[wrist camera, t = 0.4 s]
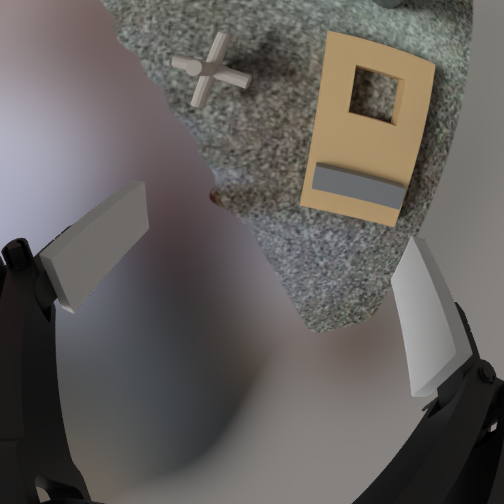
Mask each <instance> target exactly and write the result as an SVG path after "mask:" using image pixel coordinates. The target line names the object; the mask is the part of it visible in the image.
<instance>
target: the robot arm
mask: <svg viewBox="0 0 504 504" xmlns="http://www.w3.org/2000/svg"><path fill="white" fill-rule="evenodd" d="M148 229H149V225H148V215H147V205H146V194H145V182H141V181H131V182H130V183H128V184H127V185H125V186H124V187H122V188H121V189H120V190H118V191H117V192H115V193H114V194H113V195H111V196H110V197H108V198H107V199H106V200H104V201H103V202H101V203H100V204H99V205H98V206H96V207H95V208H94V209H92V210H91V211H90V212H88V213H87V214H86V215H85V216H83V217H82V218H81V219H80V220H79V221H77V222H76V223H74V224H73V225H71V226H69V227H67V228H66V229H65V230H64V231H63V232H61V234H60V235H58V236H57V237H56V238H55V240H52V241H51V242H50V243H49V244H48V245H46V246H45V247H44V248H43V249H42V250H41V251H40V252H39V253H38V254H37V255H36V256H34V257H33V255H32V252H31V250H30V247H29V244H28V241H27V240H26V239H25V238H17V239H15V240H12V241H11V242H9V243H8V244H7V245H6V246H5V247H4V248H3V249H2V251H1V252H2V255H3V257H4V260H5V262H6V264H7V265H4V262H3V260H2V258H1V256H0V504H104V503H99V502H94V501H91V498H90V495H89V493H88V490H87V487H86V484H85V481H84V479H83V476H82V475H81V473H80V471H79V470H78V469H77V467H76V466H75V465H74V463H73V461H72V458H71V455H70V451H69V447H68V443H67V438H66V433H65V428H64V423H63V418H62V411H61V404H60V398H59V388H58V380H57V379H58V378H57V365H56V344H55V317H56V316H55V314H56V309H55V305H54V303H53V302H54V301H55V300H56V299H57V298H58V300H59V302H60V304H61V306H62V308H64V309H66V310H68V311H70V312H72V313H75V312H76V311H77V310H78V309H79V307H80V306H81V305H82V303H83V302H84V301H85V300H86V299H87V297H88V296H89V295H90V294H91V293H92V291H93V290H94V289H95V288H96V287H97V285H98V284H99V283H100V282H101V281H102V279H103V278H104V277H105V276H106V275H107V274H108V273H109V271H110V270H111V269H112V268H113V267H114V265H115V264H116V263H117V262H118V261H119V260H120V259H121V258H122V257H123V256H124V255H125V253H126V252H127V251H128V250H129V249H130V248H131V247H132V246H133V245H134V244H135V243H136V242H137V240H139V238H140V237H141V236H142V235H143V234H144V233H145V232H146V231H147V230H148ZM391 283H392V287H393V291H394V295H395V300H396V304H397V308H398V313H399V317H400V322H401V327H402V332H403V337H404V343H405V349H406V355H407V362H408V369H409V376H410V384H411V392H412V397H428V396H429V395H430V394H431V393H432V392H434V391H435V390H436V389H437V391H438V397H436V398H435V399H434V400H433V401H431V402H430V403H429V404H428V405H426V406H425V407H424V408H423V409H422V411H425V410H426V409H427V408H428V410H427V411H426V413H425V415H424V416H423V418H422V419H421V421H420V422H419V424H418V425H417V427H416V429H415V430H414V431H413V433H412V434H411V436H410V437H409V438H408V440H407V441H406V443H405V444H404V445H403V446H402V448H401V449H400V450H399V452H398V453H397V454H396V456H395V457H394V458H393V459H392V461H391V462H390V463H389V464H388V465H387V467H386V468H385V469H384V470H383V471H382V472H381V474H380V475H379V476H378V477H377V478H376V479H375V481H373V483H372V484H371V485H370V486H369V487H368V488H367V489H366V490H365V491H364V492H363V493H362V494H361V495H360V496H359V497H358V498H357V499H356V500H355V501H354V502H353V503H352V504H504V381H503V380H501V379H499V378H497V377H496V373H495V371H494V368H493V367H492V366H491V365H490V363H489V362H487V361H485V360H482V359H480V356H479V353H478V350H477V346H476V343H475V341H474V338H473V335H472V332H470V330H471V329H470V326H469V324H467V322H468V321H467V319H466V316H465V313H464V312H463V310H462V309H461V307H460V306H459V304H458V303H457V302H454V300H453V298H452V295H451V293H450V291H449V288H448V286H447V284H446V282H445V279H444V277H443V275H442V273H441V271H440V269H439V267H438V265H437V263H436V261H435V258H434V257H433V254H432V252H431V251H430V249H429V247H428V245H427V243H426V241H425V239H422V238H419V237H415V236H411V238H410V240H409V243H408V245H407V247H406V249H405V251H404V254H403V256H402V258H401V260H400V262H399V264H398V266H397V268H396V270H395V272H394V274H393V276H392V278H391ZM495 423H497V427H496V429H495V430H494V431H492V432H491V426H492V425H494V424H495ZM36 486H37V487H40V488H43V489H44V490H45V491H46V492H47V493H48V495H49V497H50V500H49V501H45V502H41V503H40V500H39V497H38V494H37V490H36Z"/></svg>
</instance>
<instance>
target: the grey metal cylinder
mask: <svg viewBox="0 0 504 504" xmlns="http://www.w3.org/2000/svg"><path fill="white" fill-rule="evenodd" d="M372 1H373V2H374V3H376V4H377V5H379V6H381V7H383V8H395V7H396V6H398V5H399V4H400V3H401V2H402V1H403V0H372Z"/></svg>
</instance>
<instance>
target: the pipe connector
mask: <svg viewBox="0 0 504 504" xmlns="http://www.w3.org/2000/svg"><path fill="white" fill-rule="evenodd" d="M232 37H233V36H231V35H228V34H225V33H221V32H218V34H217V36H216V38H215V41H214V43H213V45H212V48H211V50H210V53H209V55H208V58H207V60H206V61H204V60H200V59H196V58H192V57H188V56H184V55H179V54H177V55H175V56H174V58H173V60H172V66H173V67H176V68H180V69H184V70H186V72H187V74H189V75H191V76H200V79H199V81H198V84H197V87H196V90H195V93H194V96H193V99H192V101H191V105H192V106H194V107H198V108H204V107H205V105H206V102H207V99H208V96H209V93H210V91H211V88H212V85H213V83H214V80H215V79H218V80H222V81H225V82H228V83H231V84H234V85H236V86H239V87H242V88H245V89H247V88H248V86H249V85H250V83H251V80H252V75H249V74H246V73H243V72H240V71H237V70H234V69H231V68H229V67H228V66H225V65H221V63H222V60H223V58H224V55H225V53H226V50H227V48H228V46H229V43H230V41H231V39H232Z"/></svg>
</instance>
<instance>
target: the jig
mask: <svg viewBox="0 0 504 504" xmlns="http://www.w3.org/2000/svg"><path fill="white" fill-rule="evenodd" d="M355 68H360V69H363V70H367V71H371V72H374V73H377V74H381V75H384V76H387V77H390V78H393V79H396V80H399V81H398V87H397V93H396V98H395V104H394V109H393V114H392V119H391V123H388V122H385V121H382V120H378V119H375V118H372V117H368V116H364V115H361V114H357V113H353V112H349V106H350V100H351V94H352V88H353V81H354V75H355ZM434 72H435V64H433V63H431V62H429V61H426V60H424V59H421V58H419V57H416V56H414V55H411V54H409V53H406V52H403V51H401V50H398V49H395V48H392V47H389V46H386V45H383V44H379V43H376V42H373V41H369V40H365V39H362V38H358V37H354V36H350V35H345V34H341V33H336V32H331V31H328V33H327V38H326V47H325V55H324V62H323V70H322V77H321V84H320V91H319V97H318V104H317V110H316V117H315V123H314V129H313V135H312V141H311V147H310V153H309V158H308V164H307V169H306V175H305V180H304V186H303V191H302V196H301V203H300V206H305V207H310V208H315V209H320V210H324V211H329V212H333V213H338V214H342V215H347V216H351V217H355V218H359V219H364V220H368V221H372V222H376V223H380V224H384V225H388V226H392V227H394V226H395V224H396V221H397V218H398V215H399V212H400V210H401V207H402V204H403V201H404V198H405V195H406V192H407V189H408V186H409V182H410V179H411V176H412V173H413V169H414V166H415V162H416V159H417V155H418V151H419V147H420V143H421V139H422V135H423V131H424V127H425V122H426V118H427V113H428V108H429V103H430V97H431V91H432V85H433V79H434Z"/></svg>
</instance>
